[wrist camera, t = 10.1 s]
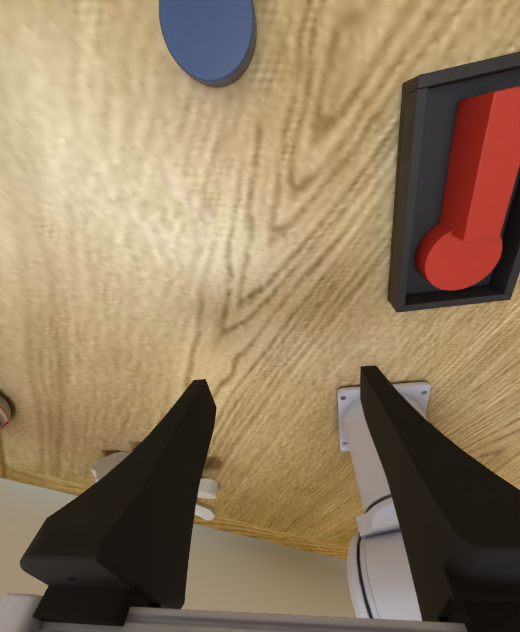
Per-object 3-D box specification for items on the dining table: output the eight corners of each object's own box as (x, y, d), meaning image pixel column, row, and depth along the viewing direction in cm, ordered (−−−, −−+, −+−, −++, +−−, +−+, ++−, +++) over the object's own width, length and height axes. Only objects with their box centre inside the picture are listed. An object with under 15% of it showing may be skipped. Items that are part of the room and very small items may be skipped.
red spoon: (432, 106, 14) (463, 98, 12) (524, 86, 13) (577, 73, 11) (410, 284, 19) (429, 303, 17) (477, 276, 18) (505, 295, 16)
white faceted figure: (74, 470, 29) (210, 507, 27) (106, 428, 33) (225, 459, 32) (92, 510, 34) (207, 544, 33) (117, 469, 38) (220, 498, 37)
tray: (491, 287, 19) (510, 299, 18) (387, 299, 20) (396, 312, 19) (560, 46, 13) (601, 32, 11) (402, 83, 14) (418, 75, 12)
